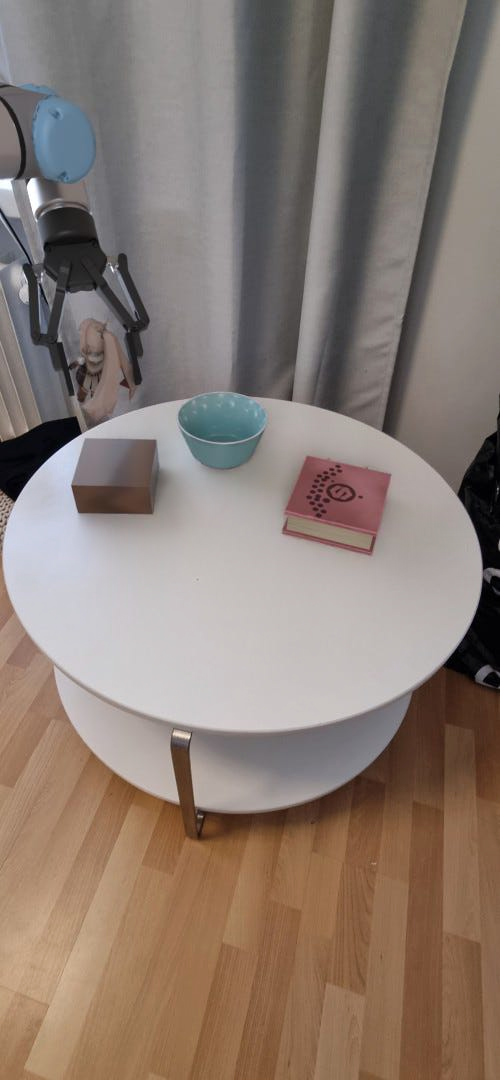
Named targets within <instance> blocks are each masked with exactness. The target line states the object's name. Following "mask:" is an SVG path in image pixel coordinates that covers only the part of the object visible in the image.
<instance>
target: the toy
mask: <svg viewBox="0 0 500 1080" xmlns="http://www.w3.org/2000/svg"><path fill="white" fill-rule="evenodd" d="M109 322H110V318H109V317H108V318H107V319H106V320H105V321H104V323H103V322H101V321H98V320H97V319H95V318H93V317H89V318H84V319H83V320H82V321H81V323H80V324H79V325H78V330H77V331H78V337H79V353H80V354H81V355H80V356H78V357H77V359H76V360H74V361H73V362H71V363H69V364H68V367H69V371H70V372H71V371H74V370H75V369H76V368H77V370H76V371H75V380H76V383H77V393H76V395H77V399H76V400H77V402H79V403H80V404H82V403H83V404H82V405H81V408H82V409H83V410H84V411H85V412H86V413H87V415H89V416H90V417H91V418H92V419H93V420H94V422H99V420H100V419H102V418H103V417H105V416H106V415H113V414H114V411H115V409H116V406H117V403H118V400H119V394H120V393H119V392H120V386H121V387H123V388H126V389H128V390H129V393H128V394H129V395H128V396H129V397H128V398H129V399H128V401H129V404H130V403H131V401H132V400H133V397H134V395H135V393H136V390H137V388H138V386H139V385H136V386H135V383H134V377H133V369H132V365H131V364H130V362H129V358H128V356H127V355H126V354H125V353H124V352H125V351H124V350H123V349H122V347H121V343H120V341H119V338H118V336H117V335H116V334H115V333H114V332H112V331H109V330H108V329H107V326H108V324H109ZM121 372H122V376H123V379H122V380H121ZM89 391H90V399H88V400H87V401H86V398H87V396H88V394H89ZM85 401H86V402H85Z"/></svg>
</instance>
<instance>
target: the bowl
mask: <svg viewBox="0 0 500 1080" xmlns="http://www.w3.org/2000/svg"><path fill="white" fill-rule="evenodd" d="M175 418H176V424H177V426H178V428H179V430H180V433H181V434H182V437H183V439H184V441H185V443H186V445H187V447H188V448H189V451H190V453H191V454H192V457H194V459H195V460H196V461H198V462H199V463H201V464H202V465H204V466H207V467H209V468H211V469H218V470H227V469H232V468H236V467H239V466H241V465H243V464H245V463H246V462H248V461H249V460H250V459H251V458H252V456H254V453H255V451H256V449H257V447H258V445H259V443H260V441H261V439H262V437H263V436H264V434H265V433H264V432H265V431H266V428H267V426H268V424H269V423H268V422H269V414H268V412H267V409H266V408H265V407H264V406H263V405H262V404H261V403H260V402H259V401H258V400H256V399H254V398H252V397H250V396H248V395H245V394H241V393H237V392H233V391H232V392H231V391H211V392H205V393H202V394H199V395H196V396H193V397H190V398H189V399H188V400H186V401H185V402H183V403H182V404H181V405H180V407H178V410H177V411H176V415H175Z"/></svg>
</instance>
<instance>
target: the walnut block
mask: <svg viewBox="0 0 500 1080" xmlns="http://www.w3.org/2000/svg"><path fill="white" fill-rule="evenodd" d="M159 459H160V458H159V451H158V440H157V439H153V438H103V437H102V438H101V437H100V438H99V437H98V438H97V437H96V438H95V437H94V438H93V437H84V440H83V443H82V447H81V450H80V453H79V456H78V460H77V464H76V468H75V470H74V473H73V478H72V481H71V484H70V487H71V491H72V495H73V498H74V503H75V506H76V507H75V508H76V511H77V514H95V515H96V514H97V515H98V514H101V515H102V514H104V515H110V514H111V515H153V514H154V507H155V500H156V493H157V486H158V479H159V472H160V460H159Z"/></svg>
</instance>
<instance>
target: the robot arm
mask: <svg viewBox="0 0 500 1080" xmlns="http://www.w3.org/2000/svg"><path fill="white" fill-rule="evenodd" d="M96 155H97V140H96V133H95V129H94V126H93V124H92V122H91V120H90V117H89V116H88V115H87V113H86V112H85V111H84V109H82V108H81V107H80V106H79V105H78V104H76V103H74V102H72V101H70V100H67V99H65V98H63V97H62V96H61V95H60V94H59V93H58V92H57V91H56V90H55V89H54V88H51V87H50V86H48V85H45V84H41V85H39V86H38V85H35V84H34V83H25V84H22V85H19V86H15V85H13V84H8V83H5V82H1V81H0V183H4V182H11V181H23V180H24V182H25V186H26V190H27V194H28V198H29V202H30V206H31V210H32V214H33V218H34V220H35V221H36V223H35V224H36V225H35V226H36V230H37V234H38V235H37V236H38V239H39V242H40V246H41V251H42V255H43V257H42V259H41V262H40V263H35V264H32V265H31V264H30V263H28V262H24V263H23V264H22V266H21V268H22V273H23V277H24V280H25V282H26V283H27V292H28V314H29V315H28V316H29V334H30V339H31V342H32V344H33V345H34V346H36V347H39V346H41V347H45V348H46V349H47V350H48V353H49V358H50V361H51V365H52V369H53V370H54V372H55V373H57V372H62V374H63V377H64V382H65V385H66V386H65V387H66V389H67V390H66V391H67V393H68V397H75V396H76V394H75V393H76V391H75V388H74V384H73V380H72V376H71V370H69V367H68V366H69V364H68V358H67V356H66V355H67V354H66V350H65V347H64V343H63V341H58V339H59V337H60V331H61V326H62V322H63V321H62V320H63V317H64V313H65V312H64V311H65V307H66V303H67V299H68V295H69V294H71V295H72V294H76V293H79V292H93V291H94V292H95V293H96V295H97V296H98V297H99V298H100V299H101V300H102V301H103V303H104V304H105V306H106V307H107V308H108V309H109V311H110V312H111V314H112V315H113V316H114V317H115V319H116V320H117V321H118V323H119V324H120V325H121V327H122V328H123V329H124V331H125V333H124V338H123V341H124V345H125V349H126V353H127V359H128V360H129V362H130V364H131V365H132V369H133V377H134V383H135V386H136V385H138V386H140V385H142V382H143V377H142V372H141V369H140V364H139V360H140V359H143V357H144V348H143V344H142V343H143V342H142V340H141V336H140V333H142V332H144V331H145V332H146V331H147V330H148V329H149V327H150V326H149V325H150V322H151V319H150V317H149V314H148V312H147V310H146V308H145V305H144V303H143V300H142V299H141V296H140V294H139V291H138V290H137V287H136V285H135V282H134V280H133V277H132V276H131V273H130V271H129V265H128V264H129V263H128V255H126V253H124V252H121V253H119V254H118V255H117V256H116V255H107V254H106V253H105V252H104V251H103V249H102V247H101V243H100V240H99V235H98V232H97V227H96V223H95V219H94V216H93V215H92V214H93V211H92V206H91V202H90V198H89V194H88V190H87V185H86V182H85V178H86V177H88V175H89V174H90V172H91V170H92V169H93V167H94V164H95V161H96ZM107 267H108V268H110V269H111V271H112V272H111V273H113V274H114V275H117V278H118V282H119V284H120V286H121V288H122V290H123V293H124V295H125V297H126V300H127V303H128V304H129V307H130V309H131V312H132V313H133V316H134V318H135V319H134V318H133V317H132V315H131V314H130V312H129V311H128V310H127V308H126V307H125V306H124V304H123V303H122V302H121V300H120V299H119V298H118V296H117V295H116V294H115V293H114V291H113V290H112V288H111V287H110V286H109V284H108V281H107V280H106V278H105V277H104V276H103V275H104V273H105V271H106V270H107ZM44 274H46V275H47V276H48V277H49V279H51V280H52V282H54V283H55V284H56V286H55V293H54V298H53V301H52V307H51V312H50V316H49V322H48V326H47V331H46V333H44V332H42V321H41V301H40V288H39V284H41V283H42V282H43V275H44Z"/></svg>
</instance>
